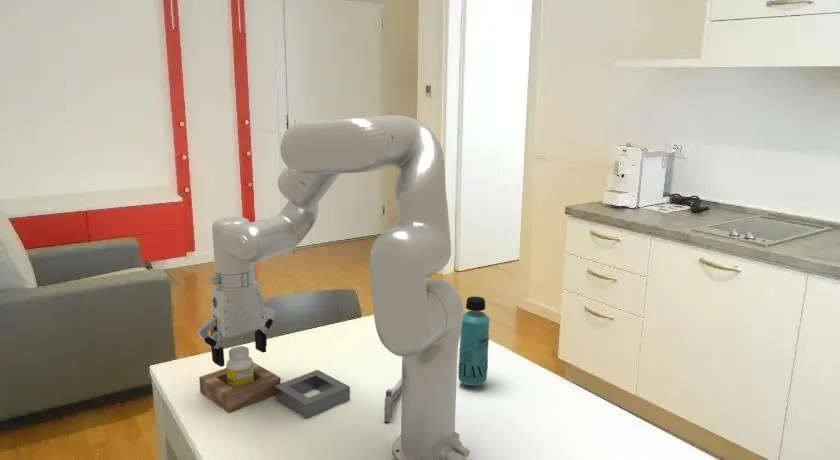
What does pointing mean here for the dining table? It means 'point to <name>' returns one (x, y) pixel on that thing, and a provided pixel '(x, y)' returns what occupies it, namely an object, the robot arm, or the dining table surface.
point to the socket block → (308, 407)
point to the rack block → (238, 388)
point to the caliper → (391, 400)
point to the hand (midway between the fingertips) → (240, 357)
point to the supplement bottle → (239, 367)
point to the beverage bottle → (474, 343)
